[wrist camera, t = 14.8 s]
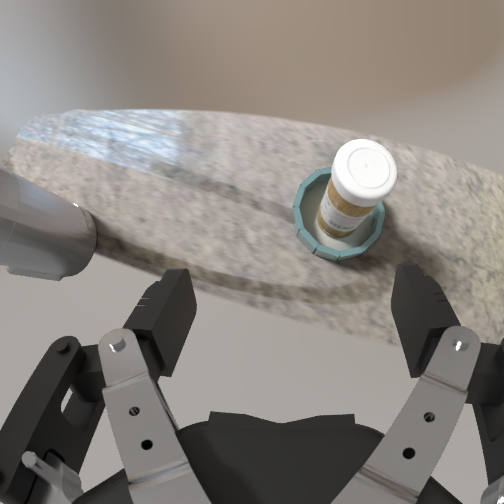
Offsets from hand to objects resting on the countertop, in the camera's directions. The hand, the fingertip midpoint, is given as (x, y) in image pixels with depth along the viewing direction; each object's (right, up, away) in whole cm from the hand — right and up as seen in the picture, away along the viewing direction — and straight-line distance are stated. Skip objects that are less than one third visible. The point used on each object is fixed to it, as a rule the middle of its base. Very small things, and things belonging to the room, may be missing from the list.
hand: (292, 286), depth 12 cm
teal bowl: (+8, +5, +21) cm, 23 cm away
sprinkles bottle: (+7, +5, +21) cm, 23 cm away
